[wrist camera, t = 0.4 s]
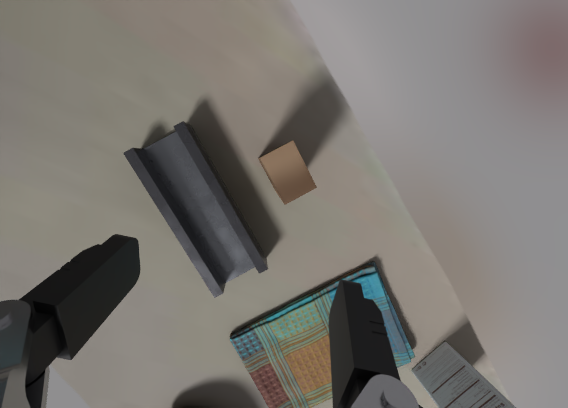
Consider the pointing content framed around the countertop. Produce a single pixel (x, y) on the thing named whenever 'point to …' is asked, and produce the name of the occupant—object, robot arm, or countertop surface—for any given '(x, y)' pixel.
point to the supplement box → (456, 382)
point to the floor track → (197, 207)
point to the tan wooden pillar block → (287, 172)
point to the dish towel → (309, 343)
